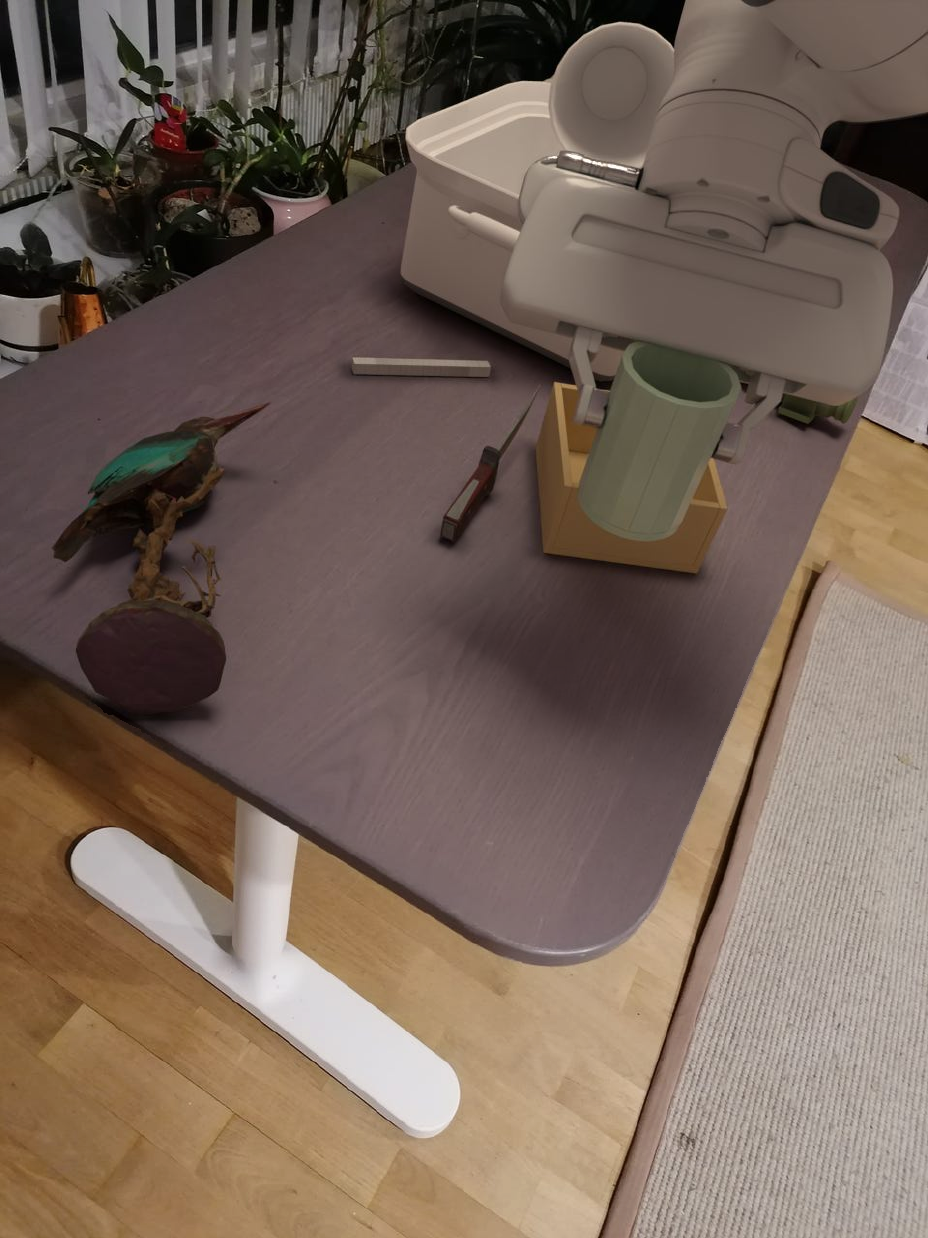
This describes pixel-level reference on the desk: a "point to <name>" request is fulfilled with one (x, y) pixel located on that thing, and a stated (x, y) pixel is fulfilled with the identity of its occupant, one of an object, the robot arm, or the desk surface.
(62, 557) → the sculpture
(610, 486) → the tumbler
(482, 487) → the knife
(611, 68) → the cup
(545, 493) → the tote
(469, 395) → the desk surface
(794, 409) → the green ridged long piece
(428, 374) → the gray square bar
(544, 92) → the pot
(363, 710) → the desk surface
